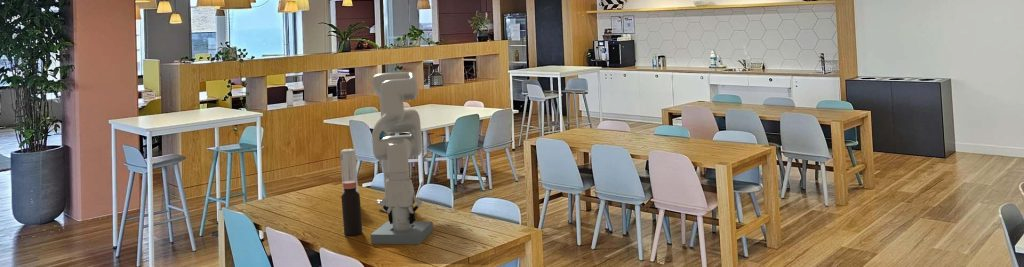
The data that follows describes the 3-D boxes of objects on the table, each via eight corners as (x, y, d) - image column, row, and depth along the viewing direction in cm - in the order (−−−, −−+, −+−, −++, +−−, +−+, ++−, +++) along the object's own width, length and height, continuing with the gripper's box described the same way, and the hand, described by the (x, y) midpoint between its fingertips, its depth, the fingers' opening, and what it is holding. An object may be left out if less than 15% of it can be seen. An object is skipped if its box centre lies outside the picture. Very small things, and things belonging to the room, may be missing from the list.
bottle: (340, 234, 292) (336, 182, 289) (354, 230, 297) (350, 179, 294) (352, 237, 288) (348, 184, 285) (366, 232, 293) (362, 181, 290)
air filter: (343, 205, 340) (339, 149, 336) (358, 203, 342) (354, 148, 338) (344, 208, 334) (340, 151, 330) (360, 206, 335) (355, 150, 332)
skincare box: (397, 235, 281) (395, 203, 279) (392, 232, 285) (390, 201, 283) (412, 232, 284) (410, 200, 283) (407, 229, 288) (405, 198, 286)
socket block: (371, 243, 278) (370, 234, 277) (387, 230, 295) (387, 221, 295) (419, 244, 274) (418, 234, 274) (433, 230, 292) (432, 221, 291)
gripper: (372, 178, 279) (376, 225, 282) (418, 178, 276) (421, 226, 279) (379, 173, 287) (383, 220, 289) (424, 173, 284) (427, 220, 286)
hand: (402, 222), depth 284 cm, fingers closed on skincare box, 7 cm apart
